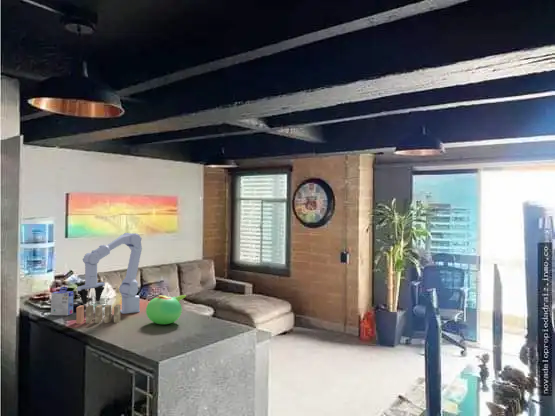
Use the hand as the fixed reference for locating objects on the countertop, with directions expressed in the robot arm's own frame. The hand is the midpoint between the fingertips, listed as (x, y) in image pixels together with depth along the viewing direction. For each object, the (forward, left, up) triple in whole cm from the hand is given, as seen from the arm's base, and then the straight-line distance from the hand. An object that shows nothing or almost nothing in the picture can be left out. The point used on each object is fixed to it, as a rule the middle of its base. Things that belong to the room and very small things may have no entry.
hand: (91, 302), depth 216 cm
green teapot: (-33, +23, -9) cm, 41 cm away
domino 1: (+5, +2, -9) cm, 11 cm away
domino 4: (-7, +7, -9) cm, 14 cm away
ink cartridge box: (+13, -20, -10) cm, 26 cm away
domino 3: (-3, +5, -9) cm, 11 cm away
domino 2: (+1, +4, -9) cm, 10 cm away
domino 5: (-12, +8, -9) cm, 17 cm away
